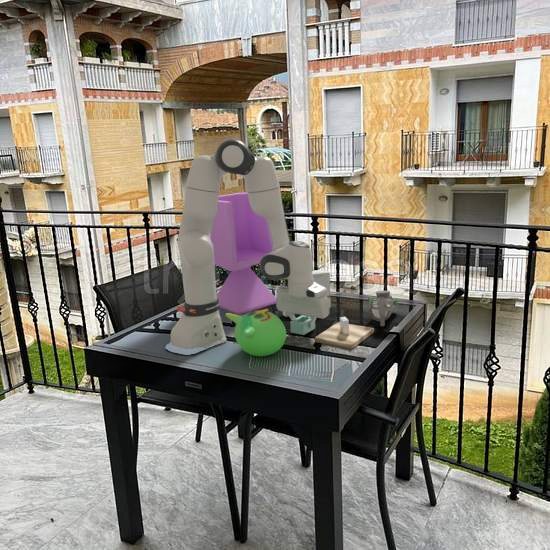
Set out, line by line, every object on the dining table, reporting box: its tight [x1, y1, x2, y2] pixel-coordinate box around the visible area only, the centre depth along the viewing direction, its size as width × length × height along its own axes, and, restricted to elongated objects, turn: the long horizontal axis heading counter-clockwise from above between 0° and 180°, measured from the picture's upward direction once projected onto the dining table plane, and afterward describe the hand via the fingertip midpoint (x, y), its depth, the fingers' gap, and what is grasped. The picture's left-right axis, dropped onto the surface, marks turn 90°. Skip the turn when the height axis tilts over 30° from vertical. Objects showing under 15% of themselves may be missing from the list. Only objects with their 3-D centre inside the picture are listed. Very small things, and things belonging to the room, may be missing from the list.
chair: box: [210, 192, 277, 316], centre depth 219 cm, size 22×22×45 cm
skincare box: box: [312, 269, 332, 309], centre depth 212 cm, size 8×6×15 cm
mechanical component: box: [367, 297, 398, 327], centre depth 189 cm, size 3×10×10 cm, turn 59°
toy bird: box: [224, 308, 287, 357], centre depth 172 cm, size 18×17×15 cm
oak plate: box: [314, 321, 375, 350], centre depth 182 cm, size 16×14×2 cm
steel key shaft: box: [339, 316, 350, 335], centre depth 181 cm, size 4×2×5 cm, turn 9°
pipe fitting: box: [368, 290, 399, 322], centre depth 198 cm, size 12×8×10 cm, turn 144°
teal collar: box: [289, 315, 316, 336], centre depth 188 cm, size 7×5×4 cm
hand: (303, 325), depth 188 cm, fingers closed on teal collar, 5 cm apart
